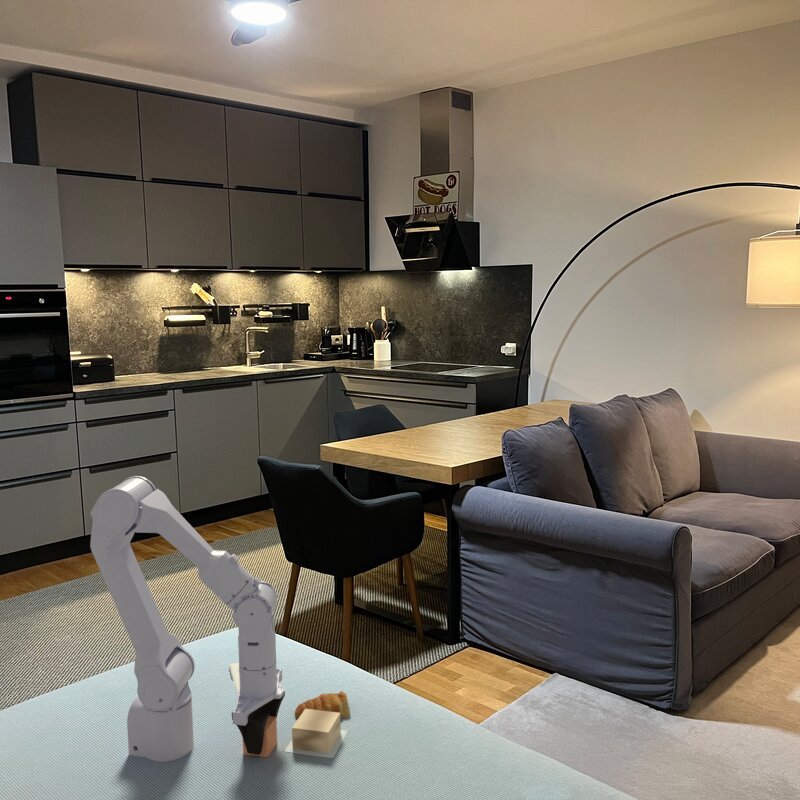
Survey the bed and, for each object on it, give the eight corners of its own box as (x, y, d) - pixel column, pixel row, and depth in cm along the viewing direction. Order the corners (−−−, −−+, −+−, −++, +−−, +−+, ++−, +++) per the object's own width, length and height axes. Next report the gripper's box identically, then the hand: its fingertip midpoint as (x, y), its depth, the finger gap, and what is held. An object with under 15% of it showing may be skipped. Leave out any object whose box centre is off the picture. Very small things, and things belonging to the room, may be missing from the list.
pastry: (297, 731, 131) (297, 710, 131) (292, 712, 137) (291, 691, 137) (352, 723, 133) (352, 701, 133) (345, 704, 140) (344, 683, 139)
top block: (243, 754, 123) (242, 727, 122) (253, 740, 127) (252, 714, 126) (267, 757, 122) (266, 730, 121) (277, 743, 126) (276, 716, 125)
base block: (292, 748, 124) (292, 727, 124) (305, 728, 130) (305, 708, 129) (328, 753, 123) (328, 732, 122) (340, 733, 128) (340, 712, 128)
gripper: (262, 687, 114) (265, 774, 116) (298, 645, 128) (300, 723, 130) (218, 682, 116) (221, 768, 118) (258, 641, 130) (260, 718, 132)
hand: (260, 744), depth 124 cm, fingers closed on top block, 4 cm apart
